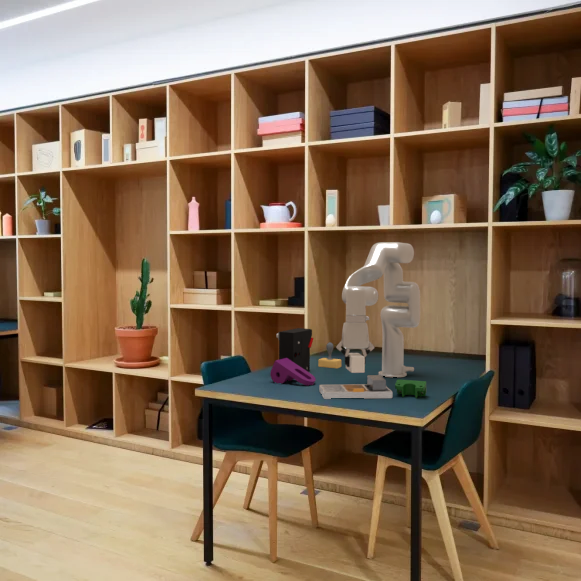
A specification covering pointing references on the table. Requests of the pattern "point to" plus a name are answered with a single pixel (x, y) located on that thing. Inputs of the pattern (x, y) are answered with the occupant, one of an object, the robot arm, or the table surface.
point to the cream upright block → (356, 363)
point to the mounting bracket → (290, 372)
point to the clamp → (411, 387)
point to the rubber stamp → (329, 359)
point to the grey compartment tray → (358, 389)
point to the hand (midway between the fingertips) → (355, 365)
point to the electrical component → (296, 346)
